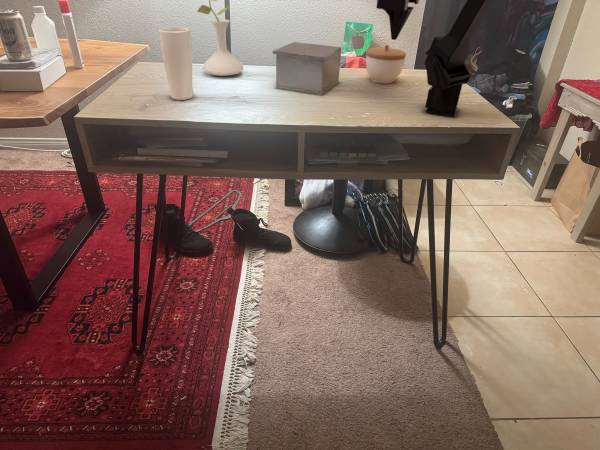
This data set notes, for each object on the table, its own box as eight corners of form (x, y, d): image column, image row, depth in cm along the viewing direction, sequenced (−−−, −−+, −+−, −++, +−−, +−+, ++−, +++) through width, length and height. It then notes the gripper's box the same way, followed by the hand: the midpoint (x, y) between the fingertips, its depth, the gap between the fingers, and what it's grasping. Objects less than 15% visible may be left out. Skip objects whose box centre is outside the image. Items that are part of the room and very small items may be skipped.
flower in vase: (251, 72, 124) (248, -28, 110) (228, 81, 115) (221, -26, 102) (215, 66, 129) (207, -31, 115) (190, 74, 120) (179, -29, 107)
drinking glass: (181, 91, 106) (174, 25, 98) (202, 96, 103) (196, 29, 95) (161, 98, 101) (151, 29, 93) (182, 103, 98) (174, 33, 90)
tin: (276, 88, 111) (276, 54, 107) (296, 76, 122) (297, 45, 117) (321, 95, 108) (323, 60, 103) (338, 82, 118) (341, 50, 114)
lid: (272, 54, 107) (272, 50, 107) (294, 45, 118) (294, 41, 117) (323, 60, 103) (323, 56, 103) (341, 50, 114) (341, 47, 113)
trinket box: (402, 87, 116) (408, 50, 111) (362, 84, 117) (366, 47, 112) (400, 77, 125) (406, 42, 120) (363, 74, 126) (367, 40, 121)
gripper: (379, -39, 105) (371, 30, 113) (357, -37, 90) (350, 42, 99) (425, -36, 101) (413, 35, 110) (410, -35, 87) (398, 47, 95)
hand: (393, 39), depth 104 cm, fingers closed
